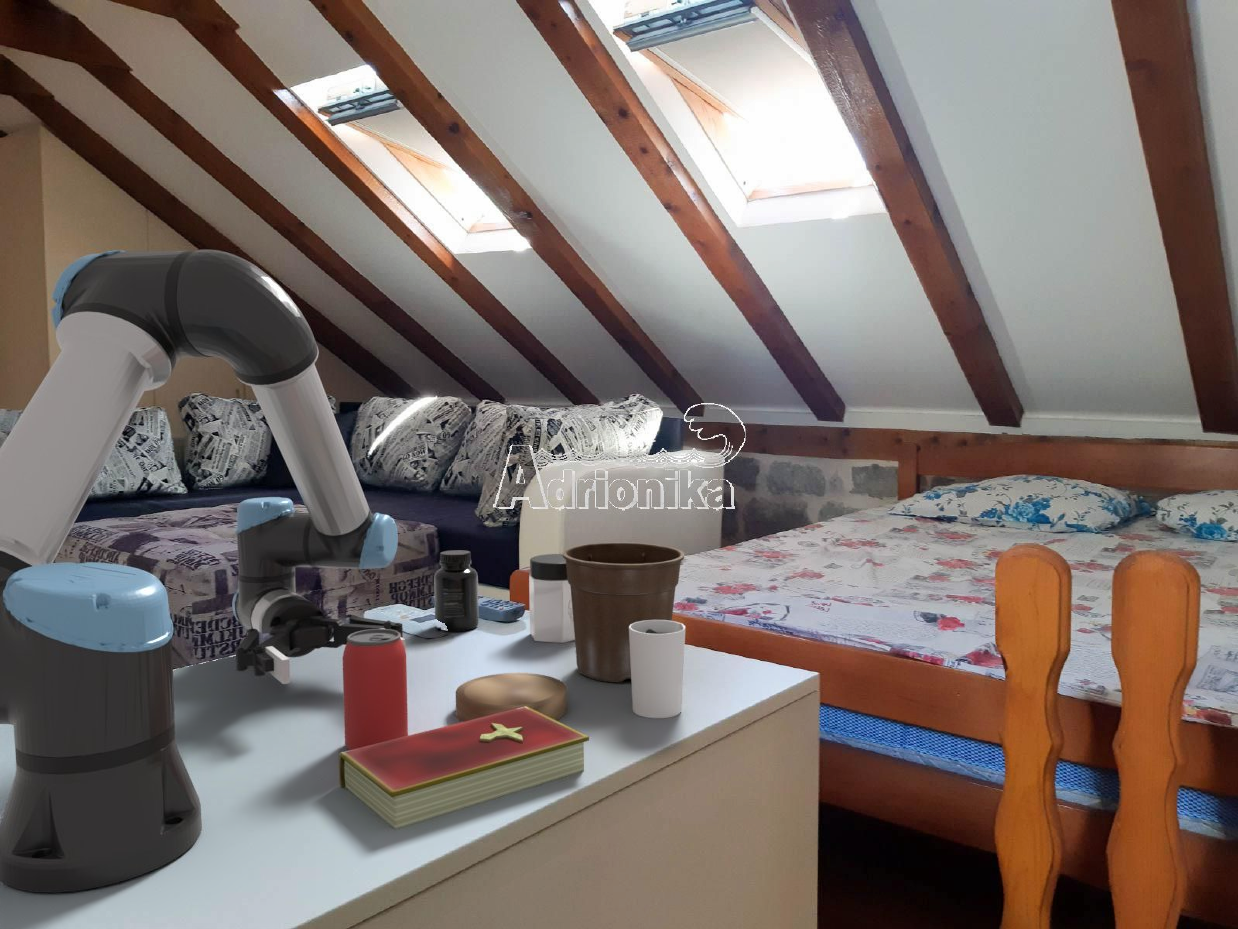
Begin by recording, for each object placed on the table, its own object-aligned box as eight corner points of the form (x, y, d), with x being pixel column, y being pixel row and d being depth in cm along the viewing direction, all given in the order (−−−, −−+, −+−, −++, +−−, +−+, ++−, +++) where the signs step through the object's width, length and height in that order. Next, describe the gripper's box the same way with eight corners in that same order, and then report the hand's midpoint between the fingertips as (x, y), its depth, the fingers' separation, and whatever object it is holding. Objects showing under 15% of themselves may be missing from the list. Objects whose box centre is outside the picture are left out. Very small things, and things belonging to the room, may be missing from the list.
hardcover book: (339, 791, 92) (338, 748, 92) (524, 740, 105) (524, 702, 104) (393, 837, 82) (391, 790, 82) (589, 775, 95) (589, 734, 95)
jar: (552, 647, 140) (551, 566, 139) (517, 636, 146) (516, 558, 145) (597, 635, 146) (596, 558, 145) (562, 626, 152) (561, 551, 151)
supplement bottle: (487, 625, 152) (486, 551, 151) (458, 635, 147) (457, 557, 146) (455, 619, 156) (454, 547, 155) (425, 628, 150) (424, 553, 149)
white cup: (621, 715, 111) (620, 631, 110) (639, 698, 117) (639, 617, 116) (676, 722, 109) (676, 636, 108) (692, 704, 115) (692, 622, 114)
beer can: (392, 759, 98) (389, 645, 97) (333, 754, 100) (329, 642, 98) (418, 736, 105) (415, 628, 104) (362, 732, 106) (359, 626, 105)
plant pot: (702, 662, 132) (703, 547, 130) (652, 696, 118) (652, 567, 116) (599, 647, 139) (598, 538, 138) (540, 678, 125) (539, 556, 124)
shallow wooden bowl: (488, 739, 104) (488, 716, 104) (437, 706, 114) (436, 685, 114) (588, 714, 111) (587, 693, 111) (531, 685, 122) (531, 666, 122)
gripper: (380, 636, 134) (446, 673, 117) (189, 667, 119) (233, 715, 102) (378, 583, 133) (445, 613, 116) (187, 609, 119) (231, 646, 102)
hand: (346, 661), depth 109 cm, fingers open, 13 cm apart
